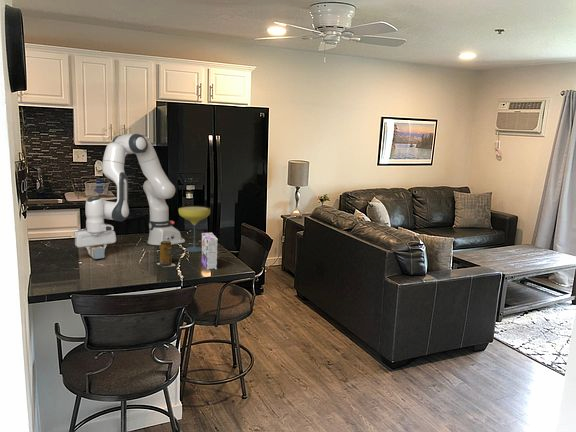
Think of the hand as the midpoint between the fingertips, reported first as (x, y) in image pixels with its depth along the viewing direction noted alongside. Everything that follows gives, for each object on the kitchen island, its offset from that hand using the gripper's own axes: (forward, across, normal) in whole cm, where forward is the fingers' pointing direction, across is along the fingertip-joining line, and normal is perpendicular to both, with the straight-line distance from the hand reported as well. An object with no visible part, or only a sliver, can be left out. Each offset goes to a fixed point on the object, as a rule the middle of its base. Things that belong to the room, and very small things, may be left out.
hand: (96, 253), depth 242 cm
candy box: (+3, +44, -42) cm, 61 cm away
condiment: (+3, +26, -29) cm, 39 cm away
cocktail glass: (+4, +52, -9) cm, 53 cm away
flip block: (-1, 0, +6) cm, 6 cm away
